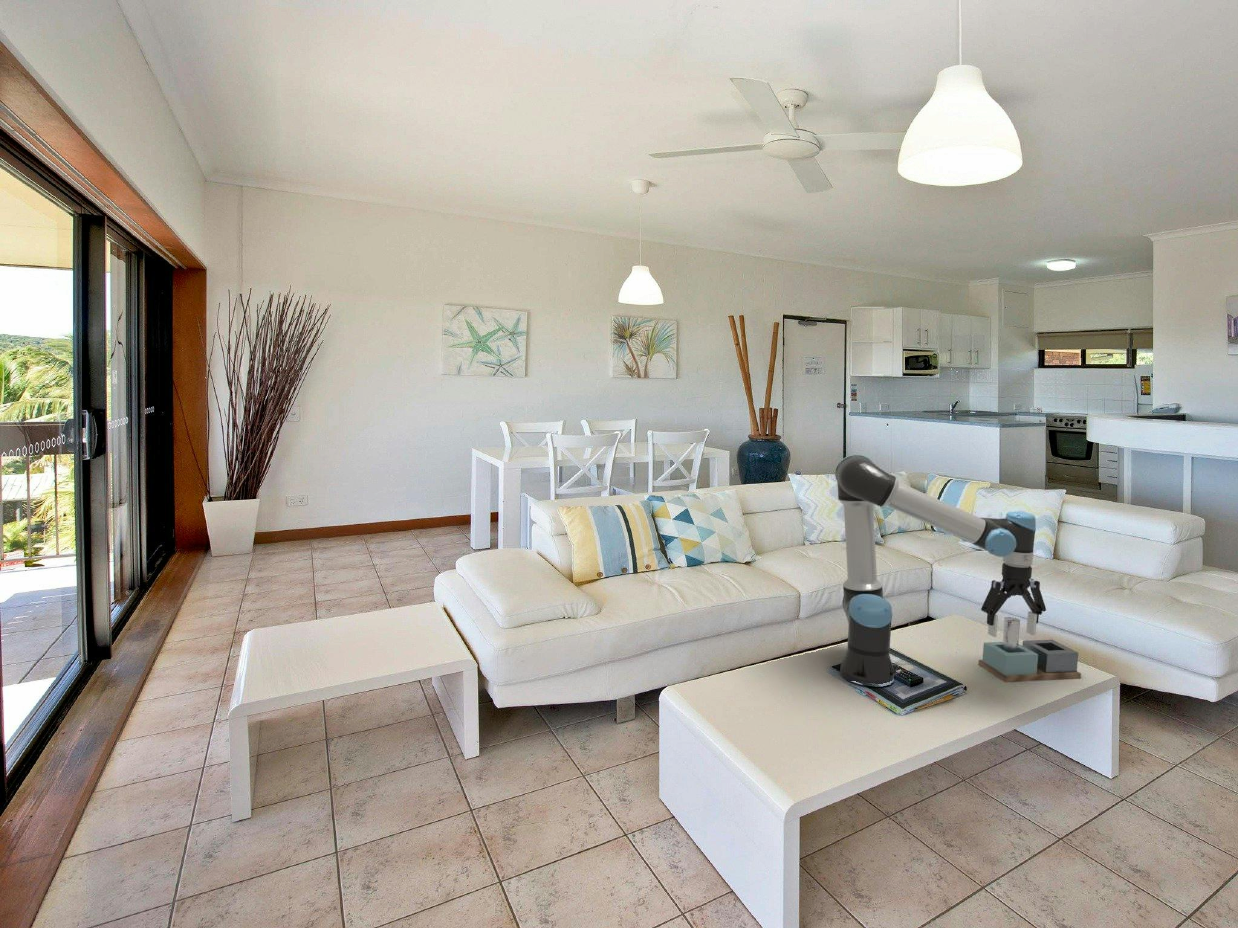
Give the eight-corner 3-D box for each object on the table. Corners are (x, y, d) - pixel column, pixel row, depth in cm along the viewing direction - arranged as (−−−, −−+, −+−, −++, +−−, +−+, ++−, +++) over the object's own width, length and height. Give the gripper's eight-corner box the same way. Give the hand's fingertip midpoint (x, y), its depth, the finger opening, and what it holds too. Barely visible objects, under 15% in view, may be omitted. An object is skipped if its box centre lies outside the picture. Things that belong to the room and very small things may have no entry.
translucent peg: (1007, 667, 193) (1010, 621, 191) (998, 661, 197) (1001, 617, 195) (1019, 666, 193) (1023, 621, 191) (1010, 661, 197) (1013, 616, 195)
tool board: (1005, 681, 189) (1005, 676, 188) (978, 664, 200) (978, 659, 200) (1080, 678, 191) (1080, 673, 191) (1049, 661, 203) (1049, 656, 203)
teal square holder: (1005, 675, 189) (1006, 655, 189) (982, 661, 199) (983, 642, 199) (1036, 673, 191) (1038, 654, 190) (1012, 659, 200) (1013, 641, 200)
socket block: (1045, 673, 191) (1047, 653, 190) (1021, 659, 201) (1022, 640, 200) (1076, 671, 192) (1078, 652, 191) (1050, 657, 202) (1052, 639, 201)
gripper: (987, 568, 186) (982, 640, 189) (1064, 566, 189) (1058, 637, 191) (970, 561, 193) (965, 631, 196) (1044, 559, 196) (1039, 628, 199)
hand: (1011, 634), depth 194 cm, fingers open, 12 cm apart
